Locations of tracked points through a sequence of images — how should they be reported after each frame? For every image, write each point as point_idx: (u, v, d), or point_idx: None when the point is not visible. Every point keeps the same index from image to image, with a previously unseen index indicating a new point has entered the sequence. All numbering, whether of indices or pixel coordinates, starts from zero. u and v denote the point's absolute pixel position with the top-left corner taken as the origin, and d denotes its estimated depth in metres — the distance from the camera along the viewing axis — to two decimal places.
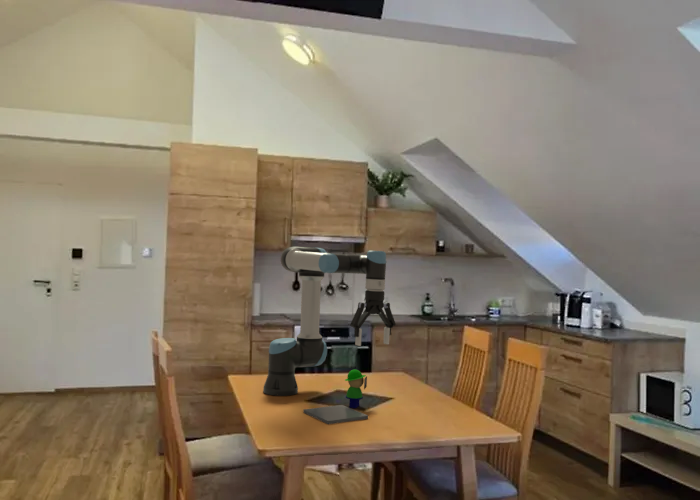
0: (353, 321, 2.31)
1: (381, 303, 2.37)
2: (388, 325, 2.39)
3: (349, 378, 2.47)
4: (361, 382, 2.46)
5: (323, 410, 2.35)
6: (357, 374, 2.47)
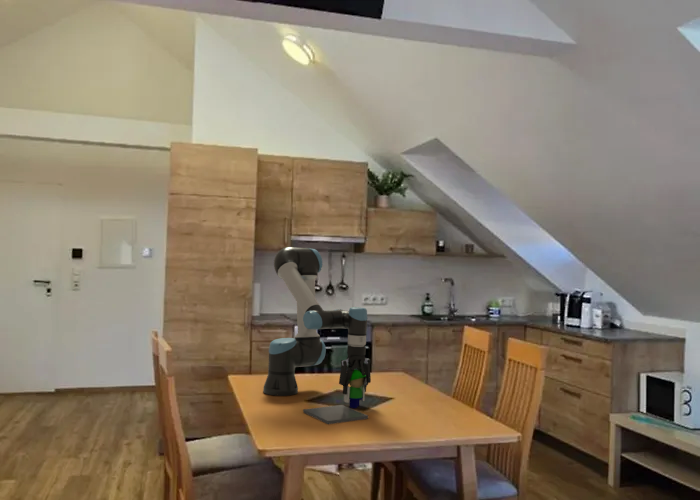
0: (341, 380, 2.45)
1: (363, 357, 2.49)
2: (364, 382, 2.50)
3: None
4: (361, 382, 2.46)
5: (323, 410, 2.35)
6: (358, 374, 2.47)
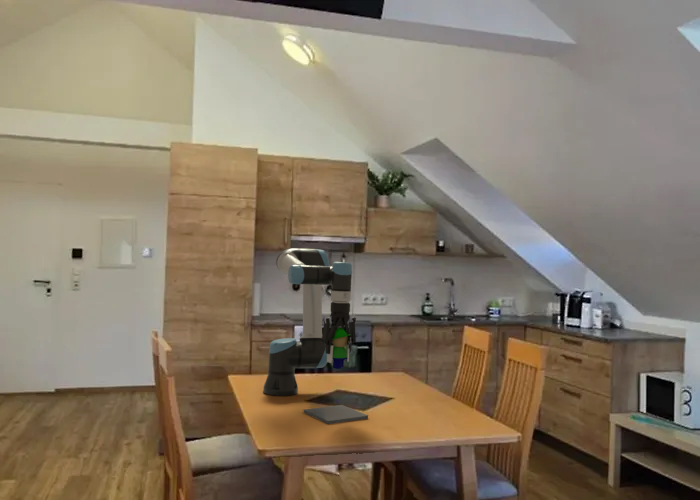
0: (323, 338, 2.29)
1: (347, 315, 2.34)
2: (348, 341, 2.34)
3: None
4: (345, 341, 2.31)
5: (323, 410, 2.35)
6: (342, 332, 2.31)
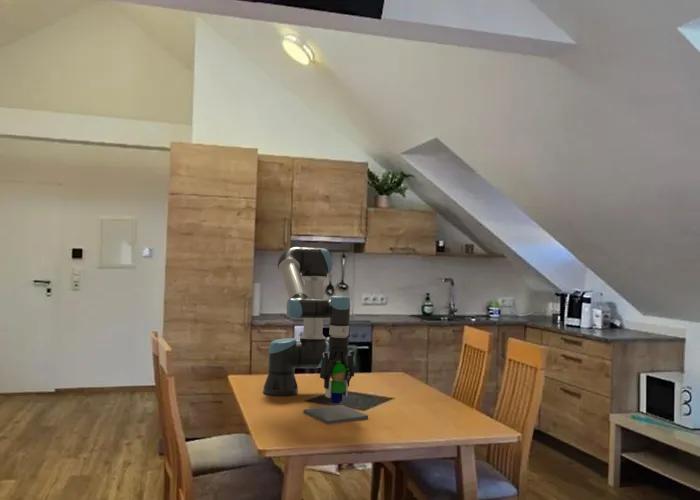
0: (321, 373, 2.29)
1: (346, 349, 2.34)
2: None
3: None
4: (344, 375, 2.31)
5: (323, 410, 2.35)
6: (340, 367, 2.31)
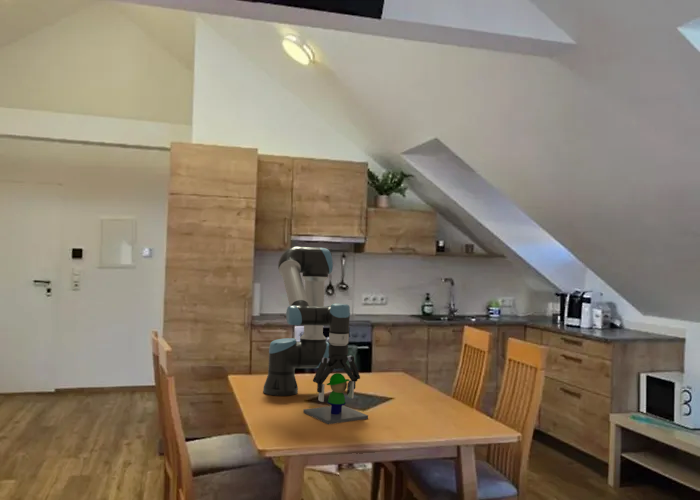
0: (316, 377, 2.27)
1: (345, 357, 2.33)
2: (352, 379, 2.36)
3: (331, 382, 2.31)
4: (344, 387, 2.31)
5: (323, 410, 2.35)
6: (340, 378, 2.31)
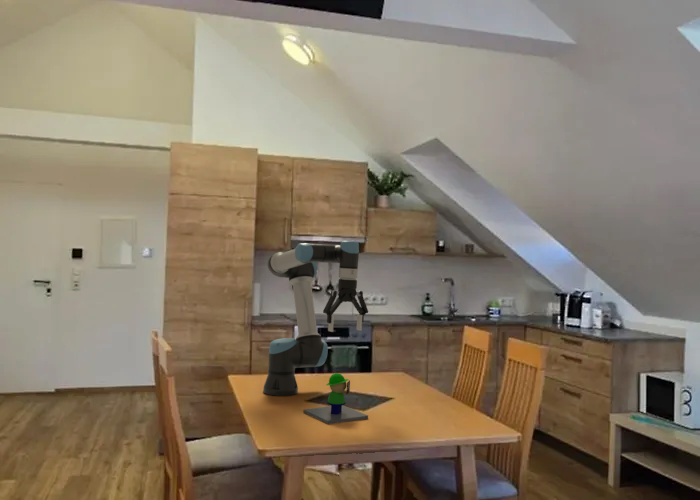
0: (326, 308, 2.41)
1: (354, 291, 2.47)
2: (361, 312, 2.49)
3: (331, 382, 2.31)
4: (343, 387, 2.31)
5: (323, 410, 2.35)
6: (340, 378, 2.31)
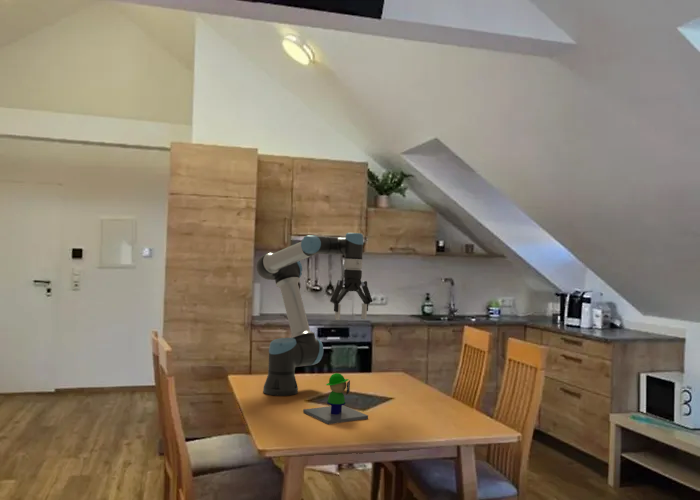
0: (333, 297, 2.51)
1: (359, 281, 2.57)
2: (365, 301, 2.60)
3: (331, 382, 2.31)
4: (343, 387, 2.31)
5: (323, 410, 2.35)
6: (340, 378, 2.31)
